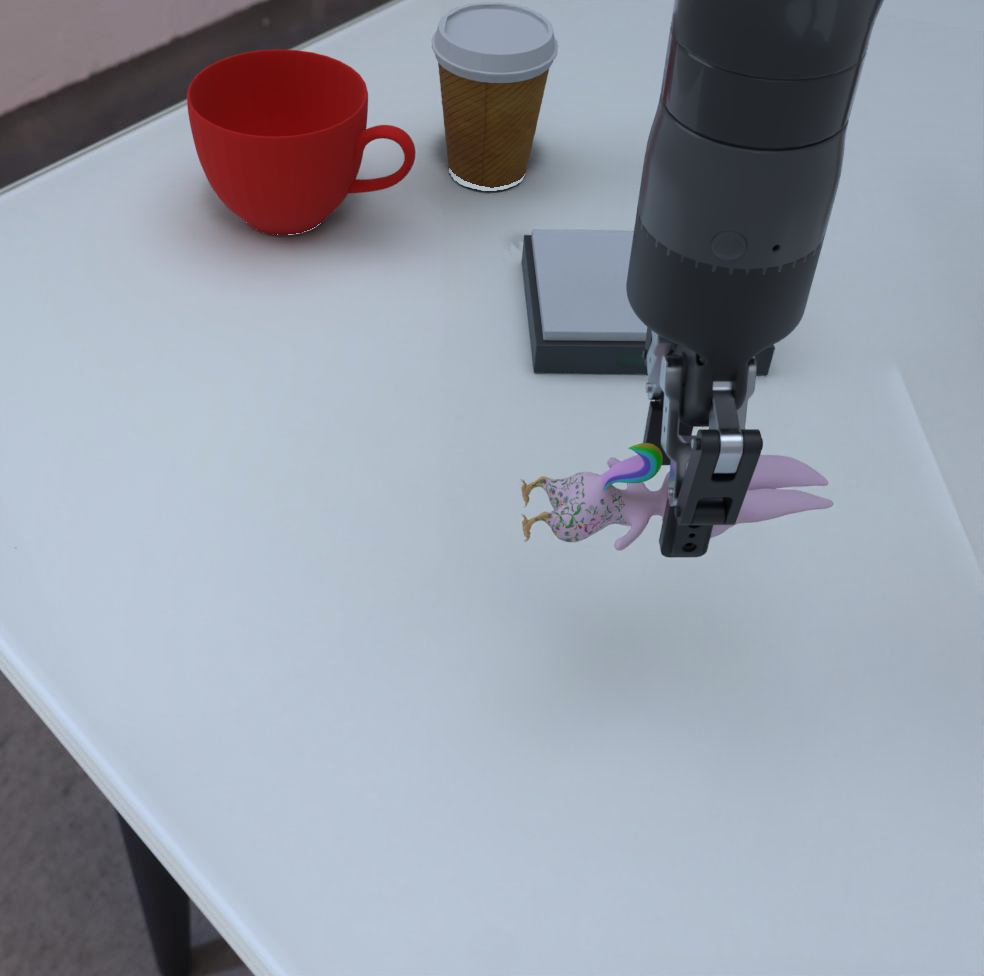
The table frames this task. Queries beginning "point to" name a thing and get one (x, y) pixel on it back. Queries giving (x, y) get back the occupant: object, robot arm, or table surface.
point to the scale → (586, 304)
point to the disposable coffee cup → (492, 87)
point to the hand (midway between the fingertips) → (671, 503)
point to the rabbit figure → (662, 496)
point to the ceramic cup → (285, 136)
